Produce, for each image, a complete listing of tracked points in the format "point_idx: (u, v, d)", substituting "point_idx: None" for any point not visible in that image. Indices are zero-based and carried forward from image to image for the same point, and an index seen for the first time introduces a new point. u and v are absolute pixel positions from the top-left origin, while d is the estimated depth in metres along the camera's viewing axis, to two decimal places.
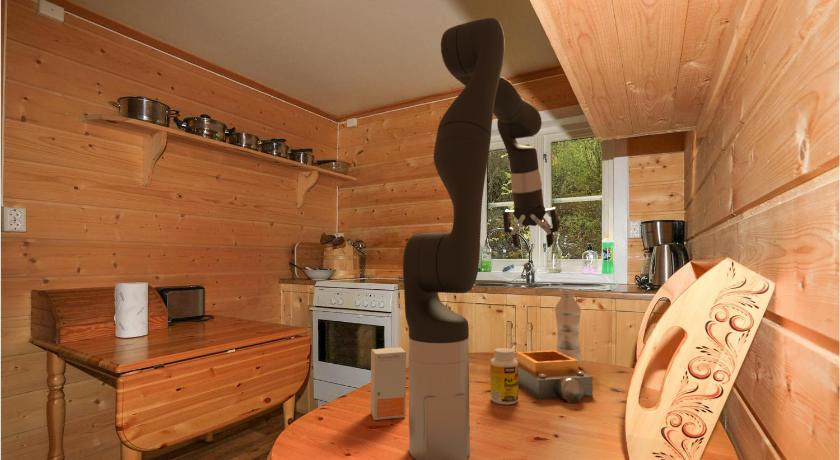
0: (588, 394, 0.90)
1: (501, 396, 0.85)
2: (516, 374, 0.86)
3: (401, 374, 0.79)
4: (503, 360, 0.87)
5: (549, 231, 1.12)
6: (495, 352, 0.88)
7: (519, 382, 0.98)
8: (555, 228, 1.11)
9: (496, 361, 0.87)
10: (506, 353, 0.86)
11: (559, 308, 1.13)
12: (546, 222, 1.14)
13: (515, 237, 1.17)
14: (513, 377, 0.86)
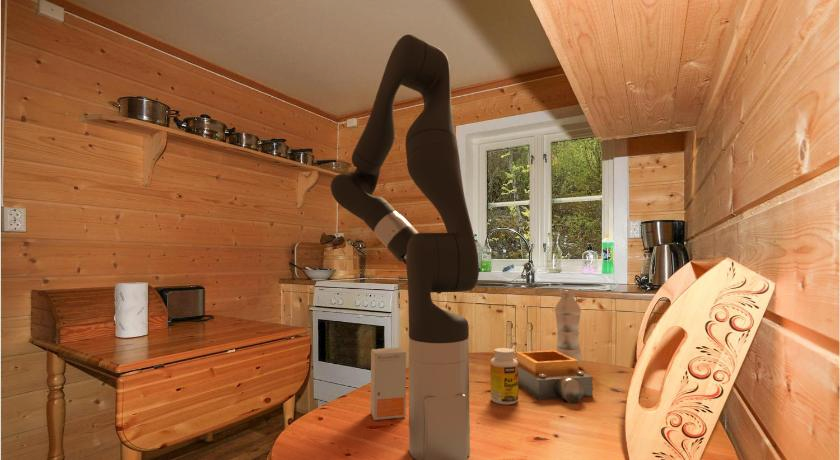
0: (588, 394, 0.90)
1: (501, 396, 0.85)
2: (516, 374, 0.86)
3: (401, 375, 0.79)
4: (503, 360, 0.87)
5: None
6: (495, 352, 0.88)
7: (519, 382, 0.98)
8: None
9: (496, 361, 0.87)
10: (506, 353, 0.86)
11: (559, 308, 1.13)
12: None
13: None
14: (513, 377, 0.86)
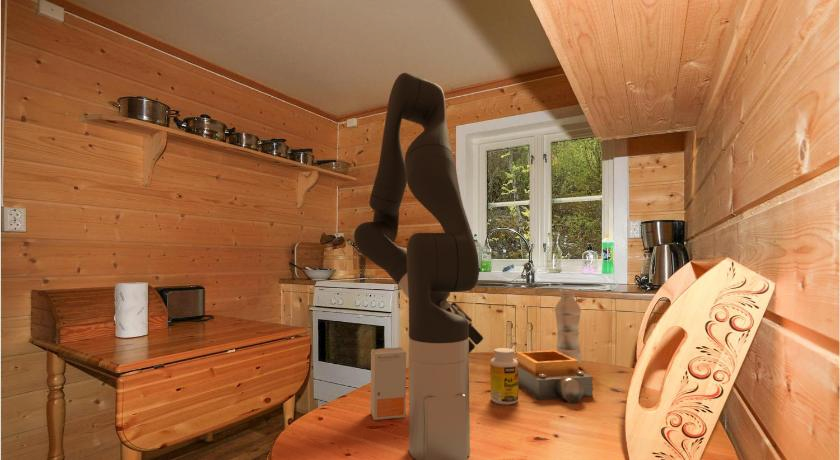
0: (588, 394, 0.90)
1: (501, 396, 0.85)
2: (516, 374, 0.86)
3: (401, 375, 0.79)
4: (503, 360, 0.87)
5: (470, 321, 0.96)
6: (495, 352, 0.88)
7: (519, 382, 0.98)
8: (469, 318, 0.98)
9: (496, 361, 0.87)
10: (506, 353, 0.86)
11: (559, 308, 1.13)
12: None
13: None
14: (513, 377, 0.86)
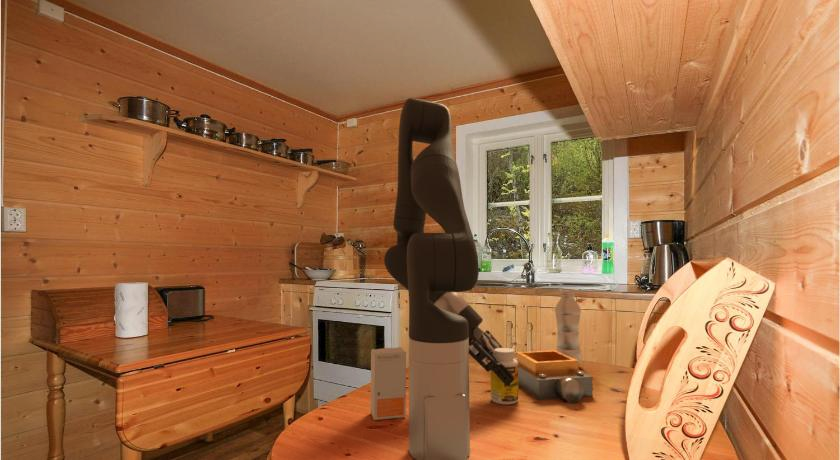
0: (588, 394, 0.90)
1: (501, 396, 0.85)
2: (516, 374, 0.86)
3: (401, 375, 0.79)
4: (503, 360, 0.87)
5: None
6: None
7: (519, 382, 0.98)
8: None
9: None
10: (506, 353, 0.86)
11: (559, 308, 1.13)
12: None
13: None
14: None
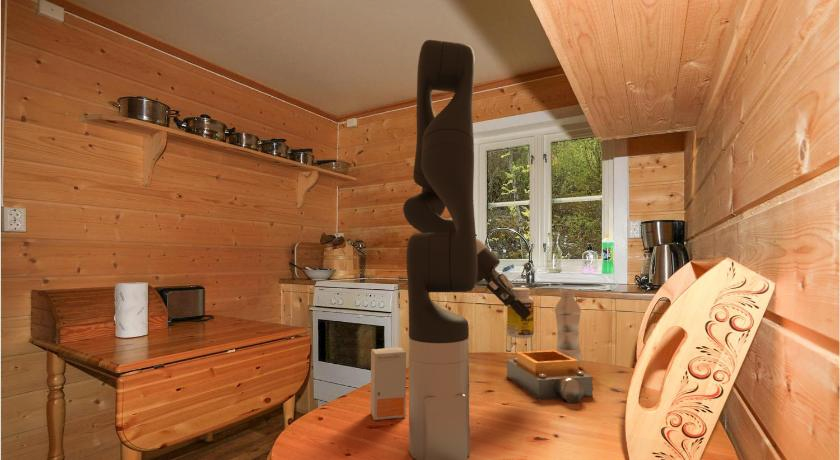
0: (588, 394, 0.90)
1: (518, 330, 0.91)
2: (532, 310, 0.92)
3: (401, 375, 0.79)
4: (520, 297, 0.92)
5: None
6: None
7: (519, 382, 0.98)
8: None
9: None
10: (523, 290, 0.92)
11: (559, 308, 1.13)
12: None
13: (521, 302, 0.91)
14: None
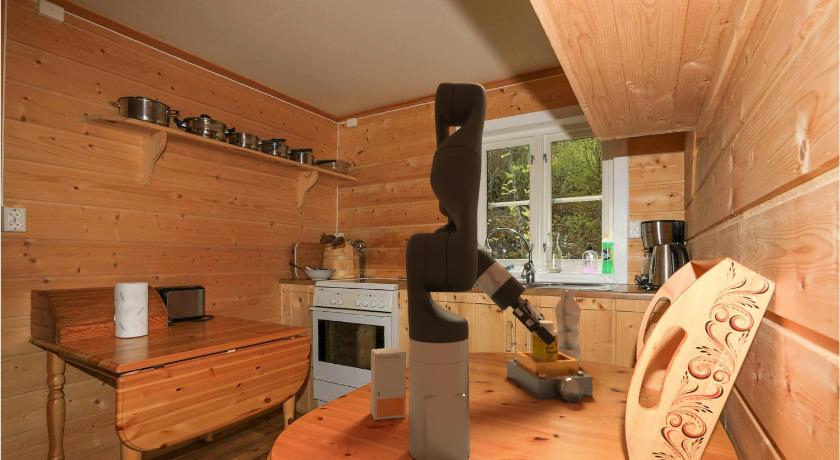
0: (588, 394, 0.90)
1: None
2: (556, 343, 0.97)
3: (401, 375, 0.79)
4: None
5: (543, 317, 1.03)
6: None
7: (519, 382, 0.98)
8: (541, 314, 1.05)
9: None
10: (547, 324, 0.97)
11: (559, 308, 1.13)
12: None
13: (545, 328, 0.95)
14: (554, 345, 0.96)
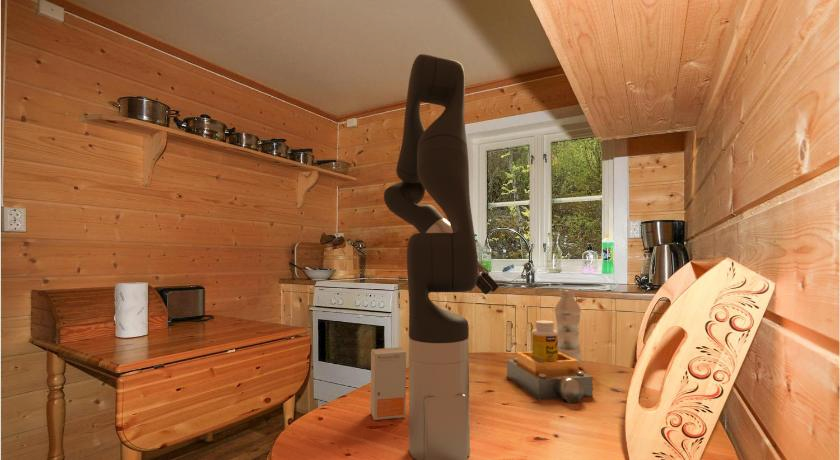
0: (588, 394, 0.90)
1: None
2: (556, 343, 0.97)
3: (401, 375, 0.79)
4: (544, 330, 0.97)
5: (487, 272, 1.07)
6: (537, 323, 0.98)
7: (519, 382, 0.98)
8: (486, 269, 1.09)
9: (538, 331, 0.97)
10: (547, 324, 0.97)
11: (559, 308, 1.13)
12: None
13: (483, 278, 0.98)
14: (554, 345, 0.96)
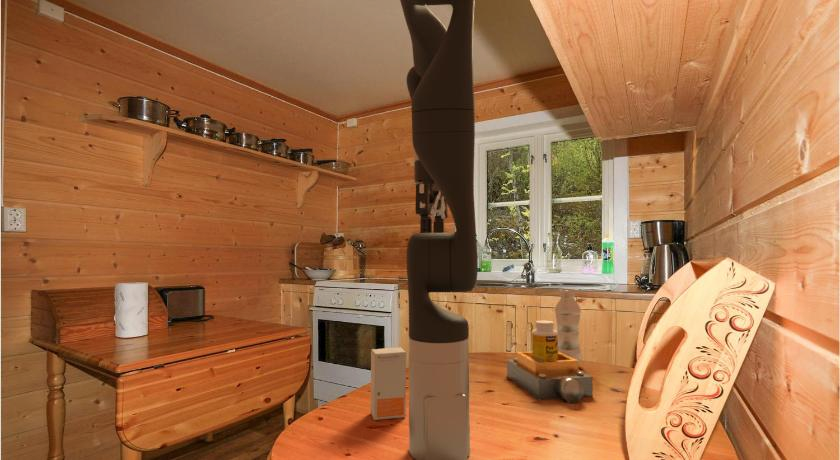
0: (588, 394, 0.90)
1: None
2: (556, 343, 0.97)
3: (401, 375, 0.79)
4: (544, 330, 0.97)
5: (445, 217, 0.94)
6: (537, 323, 0.98)
7: (519, 382, 0.98)
8: (447, 214, 0.96)
9: (538, 331, 0.97)
10: (547, 324, 0.97)
11: (559, 308, 1.13)
12: None
13: (431, 222, 0.86)
14: (554, 345, 0.96)
